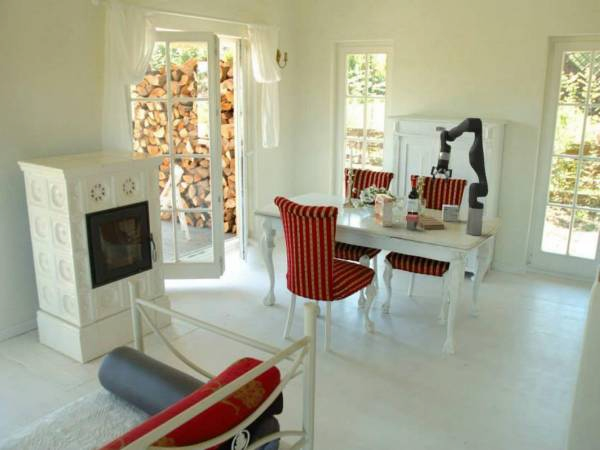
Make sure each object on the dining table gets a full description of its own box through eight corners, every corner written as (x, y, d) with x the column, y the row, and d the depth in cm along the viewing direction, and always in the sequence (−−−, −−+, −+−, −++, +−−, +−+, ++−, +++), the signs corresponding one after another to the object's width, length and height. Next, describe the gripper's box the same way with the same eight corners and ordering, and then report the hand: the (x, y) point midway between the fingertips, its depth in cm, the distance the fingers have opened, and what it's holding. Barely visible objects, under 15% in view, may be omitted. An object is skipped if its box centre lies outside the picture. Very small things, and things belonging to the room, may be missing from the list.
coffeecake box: (373, 221, 394) (375, 193, 389) (383, 221, 396) (384, 193, 391) (381, 226, 380) (383, 198, 375) (391, 226, 382) (393, 197, 377)
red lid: (418, 219, 376) (418, 215, 375) (414, 221, 371) (415, 217, 370) (409, 218, 379) (409, 214, 378) (405, 220, 374) (405, 215, 373)
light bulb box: (456, 219, 405) (457, 204, 402) (458, 221, 398) (459, 206, 395) (441, 219, 406) (442, 204, 403) (442, 221, 399) (443, 206, 396)
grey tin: (416, 228, 377) (417, 217, 375) (413, 230, 373) (414, 218, 371) (409, 227, 380) (410, 215, 378) (406, 229, 376) (407, 217, 374)
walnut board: (444, 228, 378) (444, 224, 378) (424, 229, 376) (424, 224, 375) (430, 220, 399) (431, 216, 399) (411, 221, 397) (412, 217, 396)
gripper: (434, 157, 393) (430, 180, 394) (455, 160, 392) (451, 184, 393) (432, 158, 400) (428, 181, 401) (452, 161, 400) (448, 184, 401)
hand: (439, 182), depth 397 cm, fingers open, 8 cm apart
